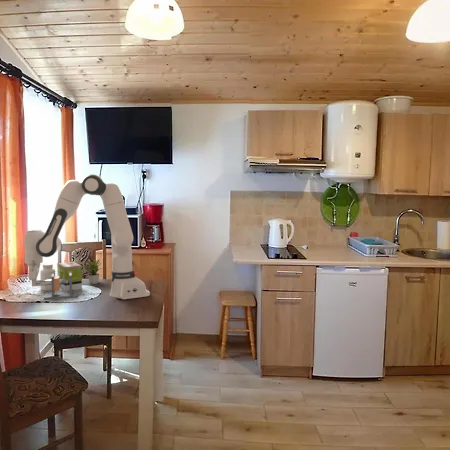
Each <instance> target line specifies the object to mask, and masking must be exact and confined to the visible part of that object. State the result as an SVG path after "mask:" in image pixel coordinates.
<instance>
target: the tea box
mask: <svg viewBox="0 0 450 450" xmlns="http://www.w3.org/2000/svg"><path fill="white" fill-rule="evenodd" d="M56 266H57V268H56V269H57V276H59V279H68V284H62V285H60V289H62V290H63V292H70V288H69V273H72V291H78V290H82V289H83V283H82V282H83V281H82V280H83V277H82V276H83V275H82V273H83V272H82V271H83V270H82V269H83V268H82V267H81V266H82V264H79V263H77V262H75V261H67V262H57V263H56Z"/></svg>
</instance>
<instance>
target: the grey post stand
mask: <svg viewBox="0 0 450 450" xmlns="http://www.w3.org/2000/svg"><path fill="white" fill-rule="evenodd" d="M51 282H52V290H51V292H45V293H44V295H43V300H54V299H71V298H78V290H72V273H69V288H70V291H54V274H52V276H51Z"/></svg>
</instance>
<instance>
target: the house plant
mask: <svg viewBox="0 0 450 450" xmlns="http://www.w3.org/2000/svg"><path fill="white" fill-rule="evenodd" d="M88 262H89V263H88ZM88 262H84V264H86V265H87V266H82V265H81V268H83V272H85V271H88V272H89V273H87V278H88V283H89V284H90V285H94V284H95V285H96V284H99V279H100V273H98V272H99V270H101V269H102V270H103V269H104V267H103V268H100V267H99V266H101V264H102V262H101V258H99V259H97V260H96V259H95V258H94V259H93V261H91V260H90V259H88Z"/></svg>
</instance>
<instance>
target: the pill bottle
mask: <svg viewBox="0 0 450 450" xmlns="http://www.w3.org/2000/svg"><path fill="white" fill-rule="evenodd" d="M53 267H54V264H53V263H43V264H42V269H41V270H39V273H40V276H39V277H40V278H39V279H40V280H51V276H52V274H54V276H56V270H55V268H53ZM40 290H41V291H52V285H46V286H40Z"/></svg>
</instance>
